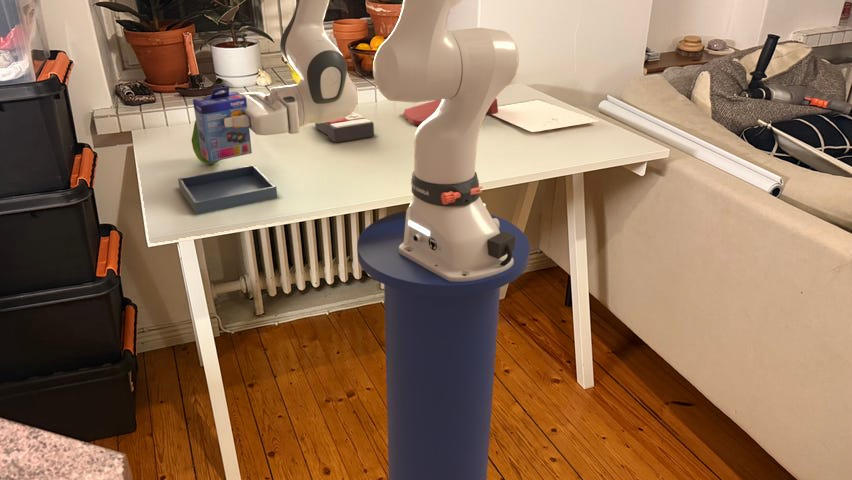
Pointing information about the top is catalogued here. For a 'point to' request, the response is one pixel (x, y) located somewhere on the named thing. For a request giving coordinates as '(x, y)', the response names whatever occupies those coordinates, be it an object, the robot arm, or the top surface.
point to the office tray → (226, 189)
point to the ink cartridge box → (221, 125)
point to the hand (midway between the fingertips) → (219, 118)
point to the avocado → (198, 146)
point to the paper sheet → (540, 116)
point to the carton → (433, 111)
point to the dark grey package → (347, 128)
